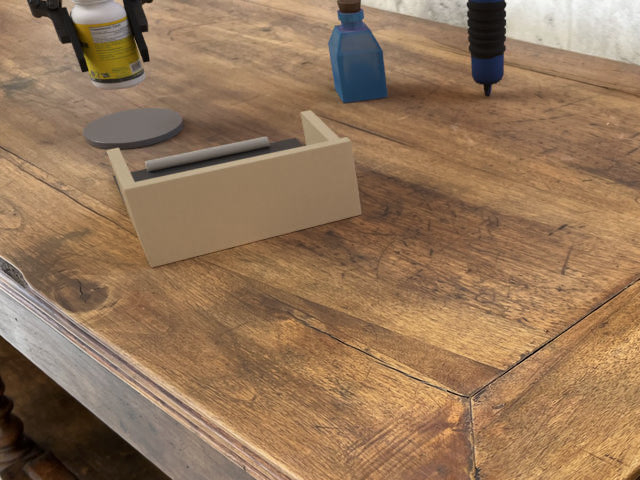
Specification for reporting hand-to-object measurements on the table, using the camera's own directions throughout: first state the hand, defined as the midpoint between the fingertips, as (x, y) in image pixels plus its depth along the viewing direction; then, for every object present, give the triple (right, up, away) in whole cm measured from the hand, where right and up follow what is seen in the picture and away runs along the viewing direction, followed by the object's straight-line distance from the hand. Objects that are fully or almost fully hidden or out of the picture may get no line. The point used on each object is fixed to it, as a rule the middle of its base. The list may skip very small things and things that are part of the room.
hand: (115, 60), depth 94 cm
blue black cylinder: (+43, +2, +17) cm, 47 cm away
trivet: (-2, -6, +8) cm, 10 cm away
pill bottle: (-2, -1, +5) cm, 5 cm away
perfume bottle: (+25, +3, +18) cm, 32 cm away
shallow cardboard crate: (+16, -18, -7) cm, 25 cm away
